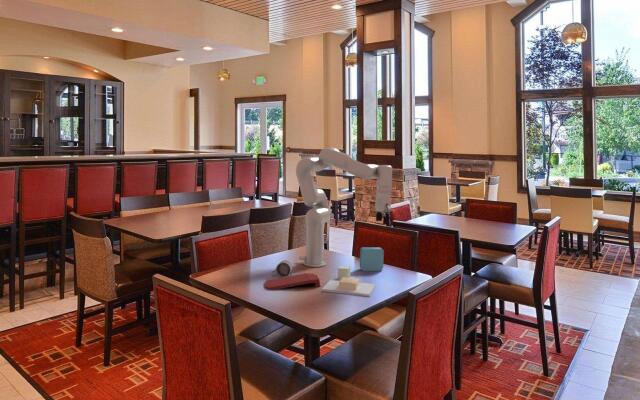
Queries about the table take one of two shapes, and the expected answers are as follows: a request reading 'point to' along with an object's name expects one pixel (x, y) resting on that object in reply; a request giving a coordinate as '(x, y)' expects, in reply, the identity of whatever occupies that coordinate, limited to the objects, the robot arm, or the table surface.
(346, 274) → the cream block
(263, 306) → the table surface
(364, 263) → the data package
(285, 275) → the ceramic mug
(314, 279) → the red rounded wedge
